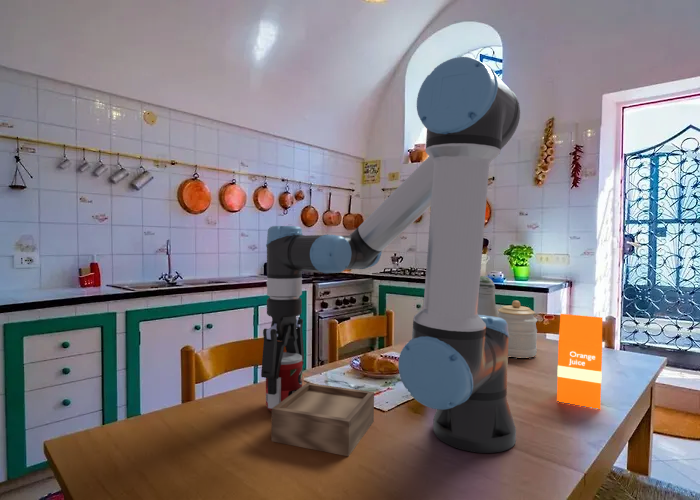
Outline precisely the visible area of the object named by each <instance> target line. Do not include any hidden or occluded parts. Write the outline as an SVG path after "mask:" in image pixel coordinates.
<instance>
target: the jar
mask: <svg viewBox="0 0 700 500" xmlns="http://www.w3.org/2000/svg"><path fill="white" fill-rule="evenodd" d="M497 312H498V317H499V318H502V319H504V320H505V321H506V322H507V324H508V334H509V339H508V356H511V357H521V358H526V357H533V356H535V355H536V356H537V352H538V351H537V350H538V349H537V335H538V334H537V332H538V329H537V325H536V323H537V322H538V319H537V317H535V315H534V314H536V312H535V310H532V309H531V308H530V307H527V306H523V305H521V302H520V301H519V300H513V301H512V303H511V305H502V307H500V308H499V309H497ZM536 356H535V357H536Z"/></svg>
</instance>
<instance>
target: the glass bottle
mask: <svg viewBox="0 0 700 500" xmlns="http://www.w3.org/2000/svg"><path fill="white" fill-rule="evenodd" d="M477 313H478V315H486V316H493V317H498V314H499V312H498V309H497V305H496V286H495V282H494V281H493V280H492V279H491V278H490V277H488V276H483V275H480V285H479V297H478V309H477Z"/></svg>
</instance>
